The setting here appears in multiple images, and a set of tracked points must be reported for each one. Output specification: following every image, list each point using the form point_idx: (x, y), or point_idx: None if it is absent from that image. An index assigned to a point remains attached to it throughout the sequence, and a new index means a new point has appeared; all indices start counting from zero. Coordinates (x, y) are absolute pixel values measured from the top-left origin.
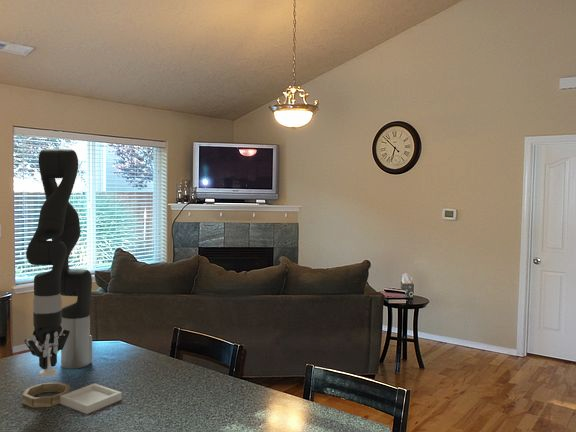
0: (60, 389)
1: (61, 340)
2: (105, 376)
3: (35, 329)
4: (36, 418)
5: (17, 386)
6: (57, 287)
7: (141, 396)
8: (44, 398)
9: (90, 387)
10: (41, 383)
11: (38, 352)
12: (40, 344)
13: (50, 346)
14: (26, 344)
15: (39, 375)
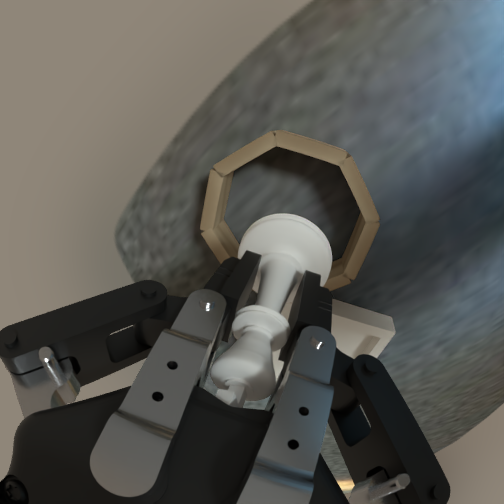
0: (355, 231)
1: (351, 450)
2: (494, 284)
3: (17, 477)
4: (169, 274)
5: (348, 28)
6: None
7: (361, 407)
8: (221, 263)
9: (368, 331)
10: (344, 153)
11: (136, 350)
12: (172, 369)
13: (255, 397)
14: (31, 324)
15: (244, 234)
